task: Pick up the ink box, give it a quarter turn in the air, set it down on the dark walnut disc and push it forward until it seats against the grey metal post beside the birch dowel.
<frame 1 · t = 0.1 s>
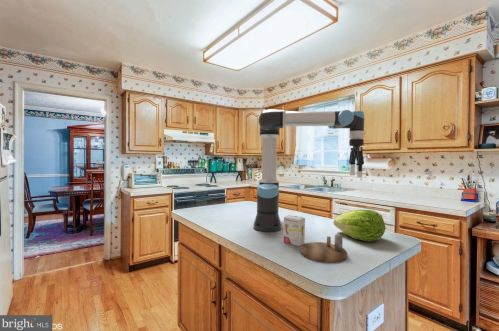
hand: (355, 176, 144), 28 cm above the worktop, fingers open, 13 cm apart
ink box: (293, 243, 114), on the worktop
lettuce: (356, 237, 123), on the worktop
disc: (322, 253, 102), on the worktop
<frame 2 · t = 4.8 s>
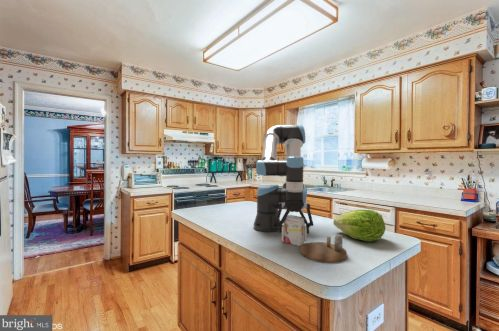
hand: (293, 240, 114), 1 cm above the worktop, fingers closed on ink box, 9 cm apart
ink box: (293, 243, 114), on the worktop, touching gripper
everything else where it was.
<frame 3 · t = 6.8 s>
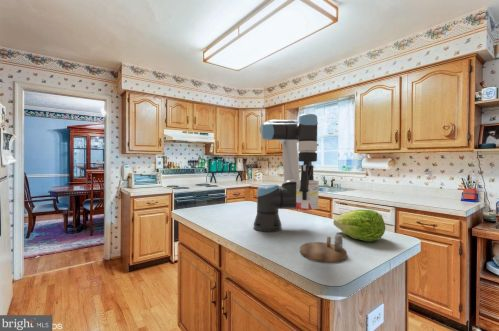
hand: (307, 206, 105), 18 cm above the worktop, fingers closed on ink box, 9 cm apart
ink box: (307, 209, 105), point 17 cm above the worktop, touching gripper
everything else where it was.
when the fingers open (4 cm above the worktop, at t = 9.1 s): ink box drops 1 cm, resting on disc.
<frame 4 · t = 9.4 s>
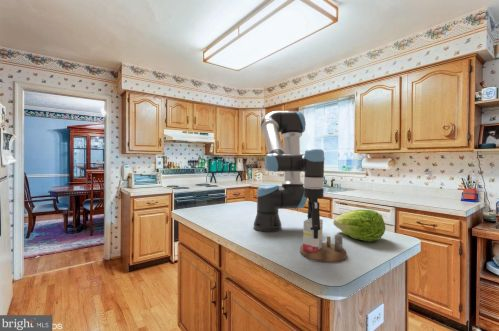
hand: (312, 240, 102), 5 cm above the worktop, fingers open, 12 cm apart
ink box: (312, 249, 103), point 1 cm above the worktop, touching disc
everything else where it was.
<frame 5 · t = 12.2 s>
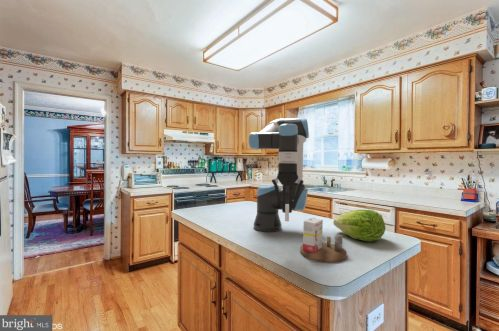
hand: (286, 220, 103), 13 cm above the worktop, fingers closed
nothing on the worktop moved.
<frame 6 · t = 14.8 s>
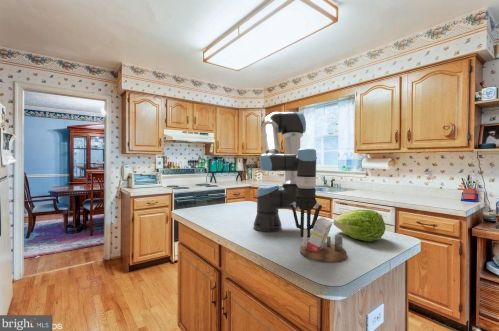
hand: (304, 245, 103), 3 cm above the worktop, fingers closed
ink box: (314, 248, 102), point 2 cm above the worktop, touching gripper
everything else where it was.
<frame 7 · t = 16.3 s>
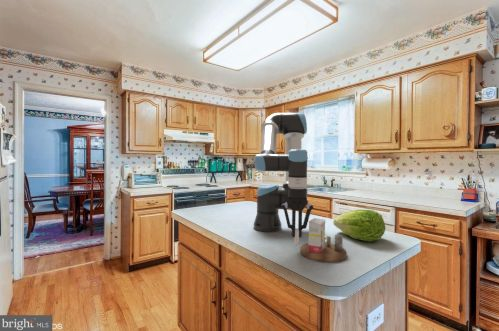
hand: (296, 245, 103), 3 cm above the worktop, fingers closed
ink box: (316, 250, 102), point 1 cm above the worktop, touching disc
everything else where it was.
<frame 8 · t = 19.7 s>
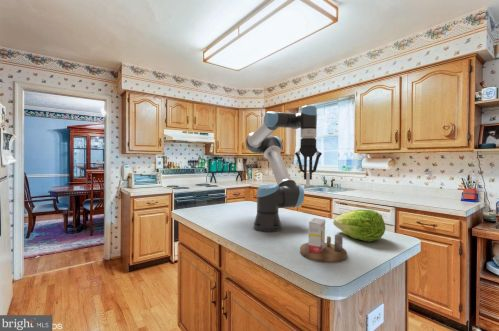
hand: (307, 186, 124), 24 cm above the worktop, fingers closed
nothing on the worktop moved.
at the end: ink box 2.8 cm off-centre on the disc, point 1.3 cm above the disc's base; ink box tilted 0°; the gripper is holding nothing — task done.
